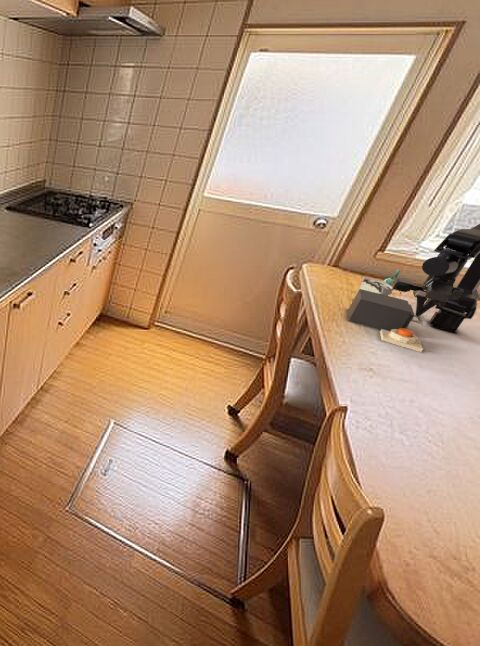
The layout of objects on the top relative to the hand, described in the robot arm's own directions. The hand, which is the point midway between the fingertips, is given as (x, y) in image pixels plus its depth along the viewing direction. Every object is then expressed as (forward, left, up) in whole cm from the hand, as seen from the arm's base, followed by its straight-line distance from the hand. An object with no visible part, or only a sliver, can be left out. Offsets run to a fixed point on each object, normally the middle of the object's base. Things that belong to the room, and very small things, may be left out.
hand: (417, 315), depth 138 cm
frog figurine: (+3, -41, -10) cm, 43 cm away
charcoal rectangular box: (+7, -11, -10) cm, 17 cm away
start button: (0, +1, -7) cm, 7 cm away
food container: (+7, -28, -10) cm, 31 cm away
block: (0, +1, -10) cm, 10 cm away
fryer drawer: (+3, -11, -9) cm, 15 cm away
